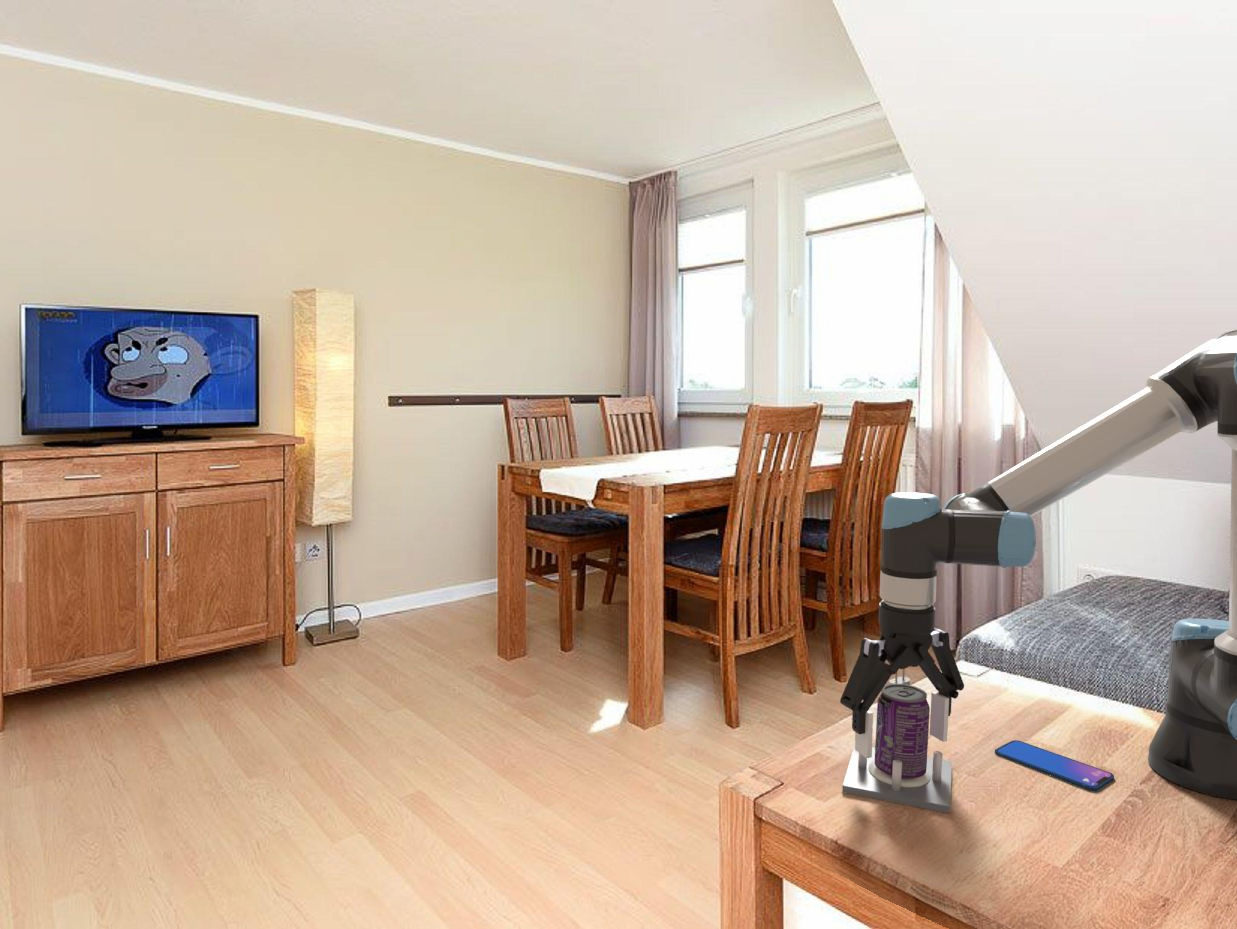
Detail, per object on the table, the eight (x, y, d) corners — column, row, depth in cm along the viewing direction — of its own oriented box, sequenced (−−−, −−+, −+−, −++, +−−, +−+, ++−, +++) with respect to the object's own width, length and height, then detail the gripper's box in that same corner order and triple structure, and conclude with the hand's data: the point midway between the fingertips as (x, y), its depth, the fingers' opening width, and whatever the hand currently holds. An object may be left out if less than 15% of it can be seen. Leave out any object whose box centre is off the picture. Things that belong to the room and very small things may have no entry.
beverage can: (889, 754, 122) (893, 678, 121) (934, 772, 117) (939, 692, 116) (864, 770, 117) (868, 690, 116) (911, 788, 112) (915, 705, 111)
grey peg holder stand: (951, 767, 121) (953, 735, 120) (949, 813, 108) (951, 778, 108) (854, 749, 126) (856, 719, 126) (842, 792, 114) (843, 758, 113)
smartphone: (1015, 738, 130) (1117, 774, 118) (1015, 743, 130) (1116, 780, 118) (991, 750, 126) (1095, 789, 114) (991, 756, 126) (1094, 795, 114)
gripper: (955, 587, 122) (949, 721, 125) (817, 604, 113) (813, 749, 115) (994, 599, 115) (987, 741, 118) (851, 619, 106) (846, 773, 108)
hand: (901, 745), depth 117 cm, fingers open, 13 cm apart
